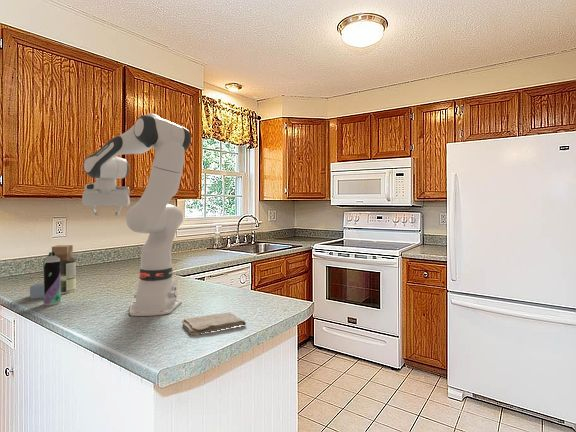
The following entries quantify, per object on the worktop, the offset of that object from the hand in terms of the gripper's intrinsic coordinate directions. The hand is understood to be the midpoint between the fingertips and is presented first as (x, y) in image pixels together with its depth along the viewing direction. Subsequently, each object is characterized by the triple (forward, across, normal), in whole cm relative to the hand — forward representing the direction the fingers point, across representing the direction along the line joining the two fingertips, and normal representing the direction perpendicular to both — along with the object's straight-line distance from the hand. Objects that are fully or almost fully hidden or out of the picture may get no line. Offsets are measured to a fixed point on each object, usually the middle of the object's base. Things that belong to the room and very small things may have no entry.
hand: (106, 215), depth 172 cm
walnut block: (+19, +16, +9) cm, 26 cm away
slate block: (+33, +22, +17) cm, 43 cm away
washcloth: (+34, -49, +66) cm, 89 cm away
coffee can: (+33, +16, +9) cm, 38 cm away
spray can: (+33, +12, +30) cm, 46 cm away
